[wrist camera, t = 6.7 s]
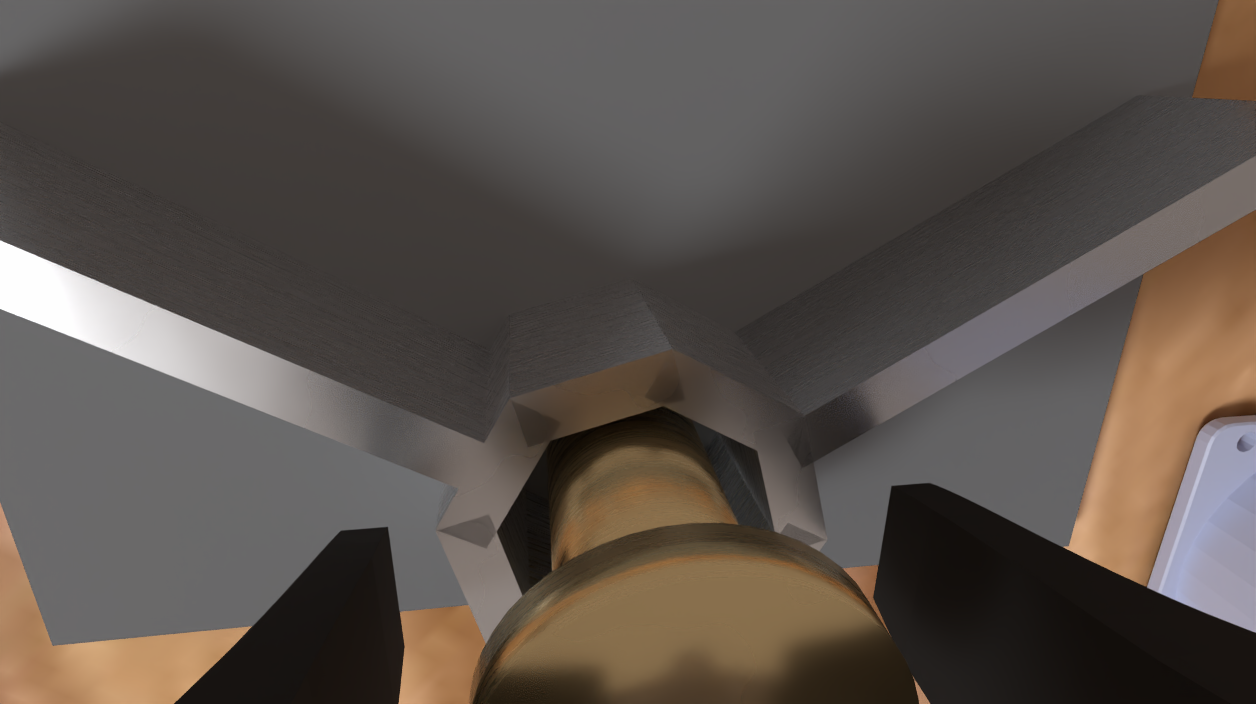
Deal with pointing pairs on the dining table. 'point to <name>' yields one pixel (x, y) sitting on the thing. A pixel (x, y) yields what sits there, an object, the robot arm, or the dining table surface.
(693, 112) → the mat
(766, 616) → the hinge pin
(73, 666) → the dining table surface
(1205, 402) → the dining table surface
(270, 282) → the steel hinge
